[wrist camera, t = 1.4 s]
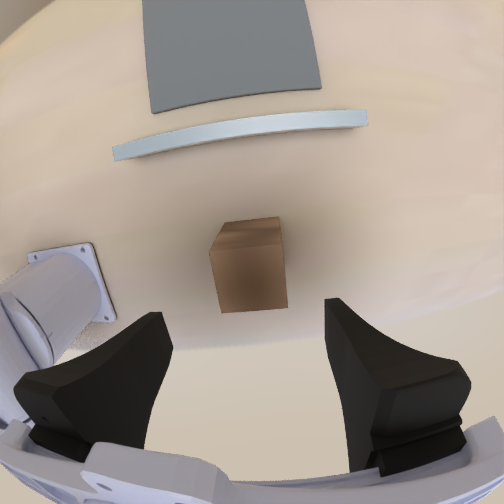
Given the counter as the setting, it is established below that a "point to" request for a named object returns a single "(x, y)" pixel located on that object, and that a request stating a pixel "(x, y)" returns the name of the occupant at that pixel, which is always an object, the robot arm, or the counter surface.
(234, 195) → the counter surface
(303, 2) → the resting mat
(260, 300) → the walnut block
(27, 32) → the counter surface
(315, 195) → the counter surface
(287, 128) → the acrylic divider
